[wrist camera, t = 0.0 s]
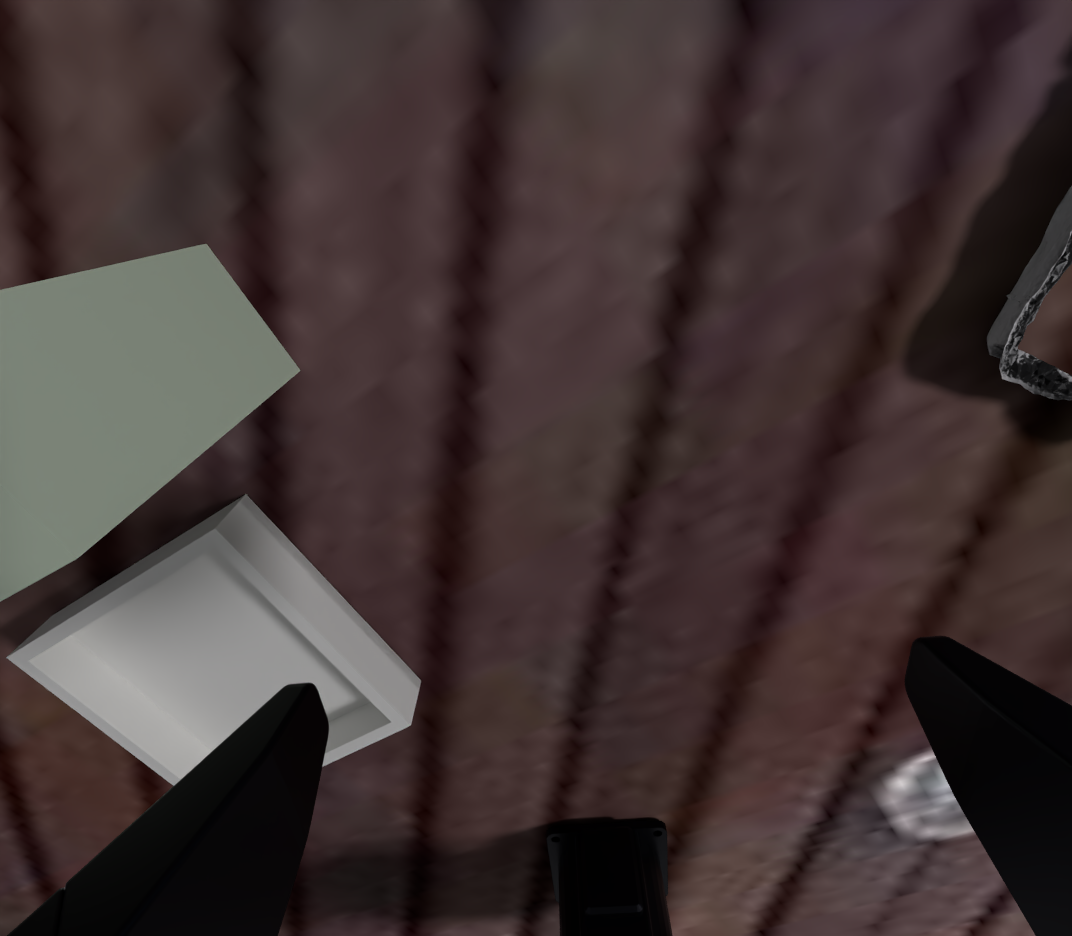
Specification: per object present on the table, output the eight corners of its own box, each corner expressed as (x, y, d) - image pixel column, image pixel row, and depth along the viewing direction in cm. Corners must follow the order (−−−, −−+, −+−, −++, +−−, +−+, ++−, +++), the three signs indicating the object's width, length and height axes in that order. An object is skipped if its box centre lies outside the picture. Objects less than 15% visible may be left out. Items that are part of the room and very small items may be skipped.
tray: (421, 680, 29) (410, 725, 27) (238, 769, 32) (214, 816, 29) (245, 494, 25) (215, 528, 22) (51, 615, 27) (6, 657, 25)
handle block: (300, 370, 22) (77, 558, 12) (197, 431, 23) (-95, 654, 13) (206, 243, 20) (-166, 327, 10) (98, 316, 22) (-344, 464, 11)
